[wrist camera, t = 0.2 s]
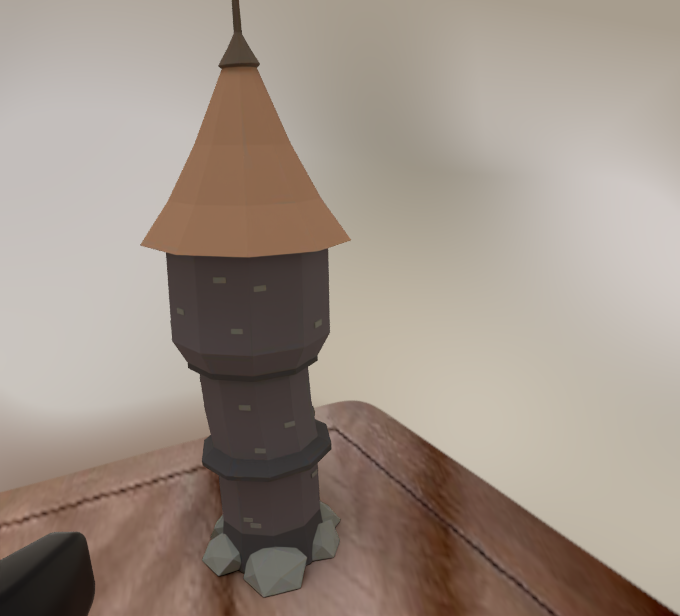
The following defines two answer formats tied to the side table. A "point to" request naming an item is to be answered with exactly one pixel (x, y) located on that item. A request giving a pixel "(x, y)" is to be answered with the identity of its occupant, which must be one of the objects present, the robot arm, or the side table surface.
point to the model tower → (253, 325)
